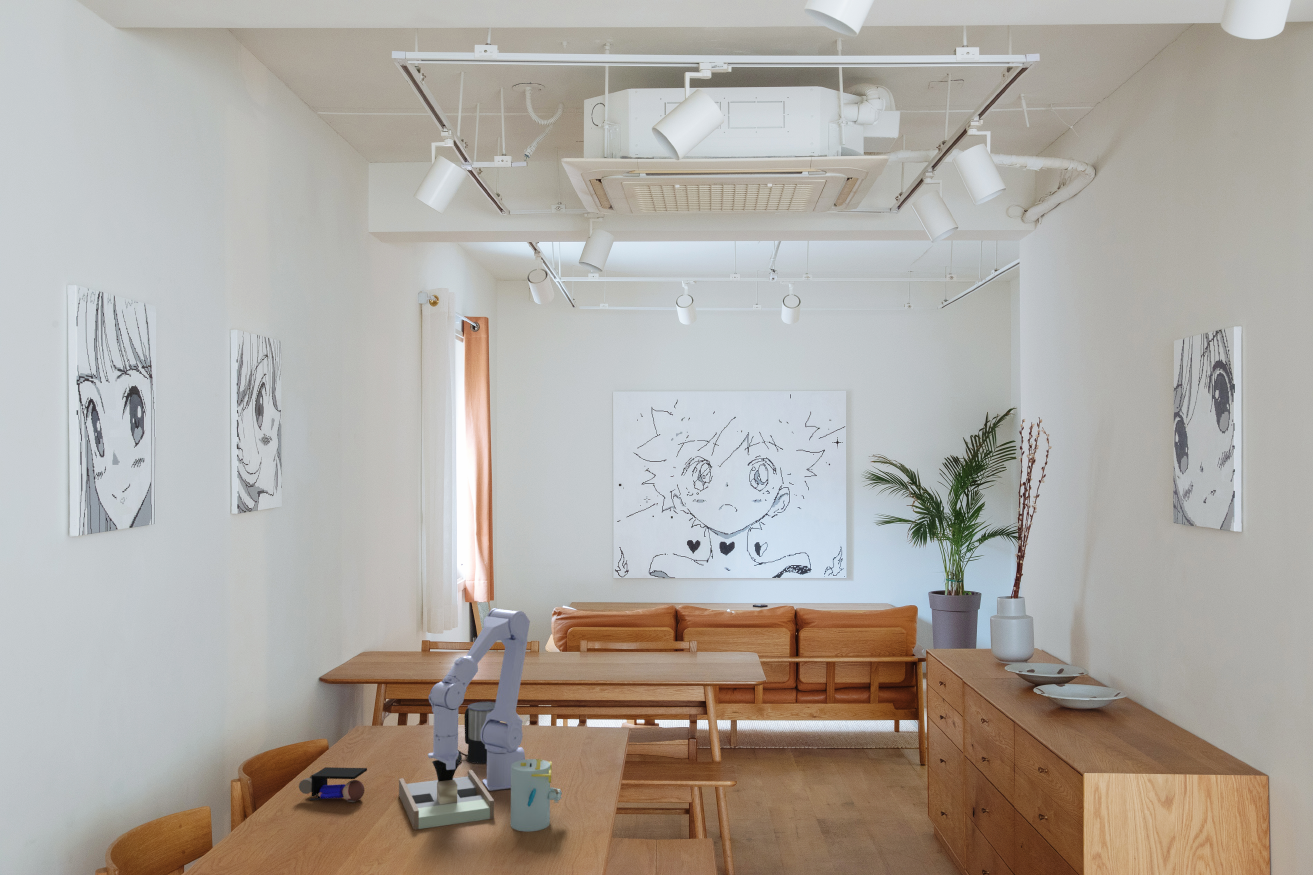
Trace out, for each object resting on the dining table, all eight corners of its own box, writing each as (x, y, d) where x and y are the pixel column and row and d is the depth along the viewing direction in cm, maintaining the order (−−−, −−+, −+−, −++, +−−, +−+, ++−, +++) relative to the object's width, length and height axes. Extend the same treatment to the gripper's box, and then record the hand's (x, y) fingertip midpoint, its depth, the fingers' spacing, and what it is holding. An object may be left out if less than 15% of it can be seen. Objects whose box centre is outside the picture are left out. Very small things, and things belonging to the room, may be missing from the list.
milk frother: (507, 757, 257) (508, 704, 258) (467, 772, 244) (468, 716, 245) (470, 749, 265) (470, 697, 266) (429, 763, 252) (430, 708, 252)
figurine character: (298, 808, 222) (356, 805, 219) (295, 776, 222) (354, 772, 219) (314, 799, 228) (370, 795, 226) (311, 767, 229) (367, 764, 226)
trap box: (471, 785, 234) (472, 769, 234) (494, 817, 212) (494, 800, 212) (398, 794, 227) (399, 778, 227) (413, 829, 205) (414, 811, 205)
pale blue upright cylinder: (561, 840, 199) (562, 777, 200) (507, 841, 198) (508, 778, 199) (561, 807, 219) (562, 749, 220) (512, 808, 218) (513, 751, 219)
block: (453, 796, 219) (454, 779, 219) (457, 801, 215) (457, 784, 215) (436, 798, 217) (437, 781, 217) (439, 804, 214) (440, 786, 214)
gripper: (423, 727, 225) (422, 784, 225) (434, 743, 212) (433, 803, 211) (452, 724, 228) (452, 780, 227) (464, 740, 215) (463, 799, 214)
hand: (444, 791), depth 219 cm, fingers closed
